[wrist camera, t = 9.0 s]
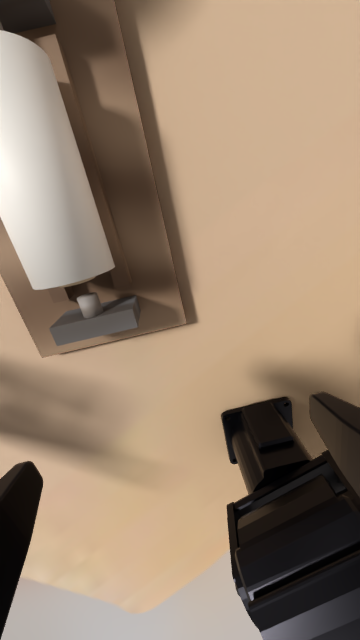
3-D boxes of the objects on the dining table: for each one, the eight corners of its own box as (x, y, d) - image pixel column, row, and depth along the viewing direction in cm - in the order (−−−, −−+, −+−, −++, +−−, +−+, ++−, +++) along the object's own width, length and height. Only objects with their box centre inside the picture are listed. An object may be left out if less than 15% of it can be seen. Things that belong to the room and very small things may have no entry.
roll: (121, 266, 16) (108, 281, 12) (54, 281, 16) (19, 302, 12) (63, 75, 12) (17, 3, 8) (-23, 95, 12) (-113, 33, 8)
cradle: (185, 318, 19) (192, 341, 16) (47, 351, 19) (21, 381, 16) (100, -60, 12) (75, -187, 8) (-125, -8, 12) (-253, -114, 8)
